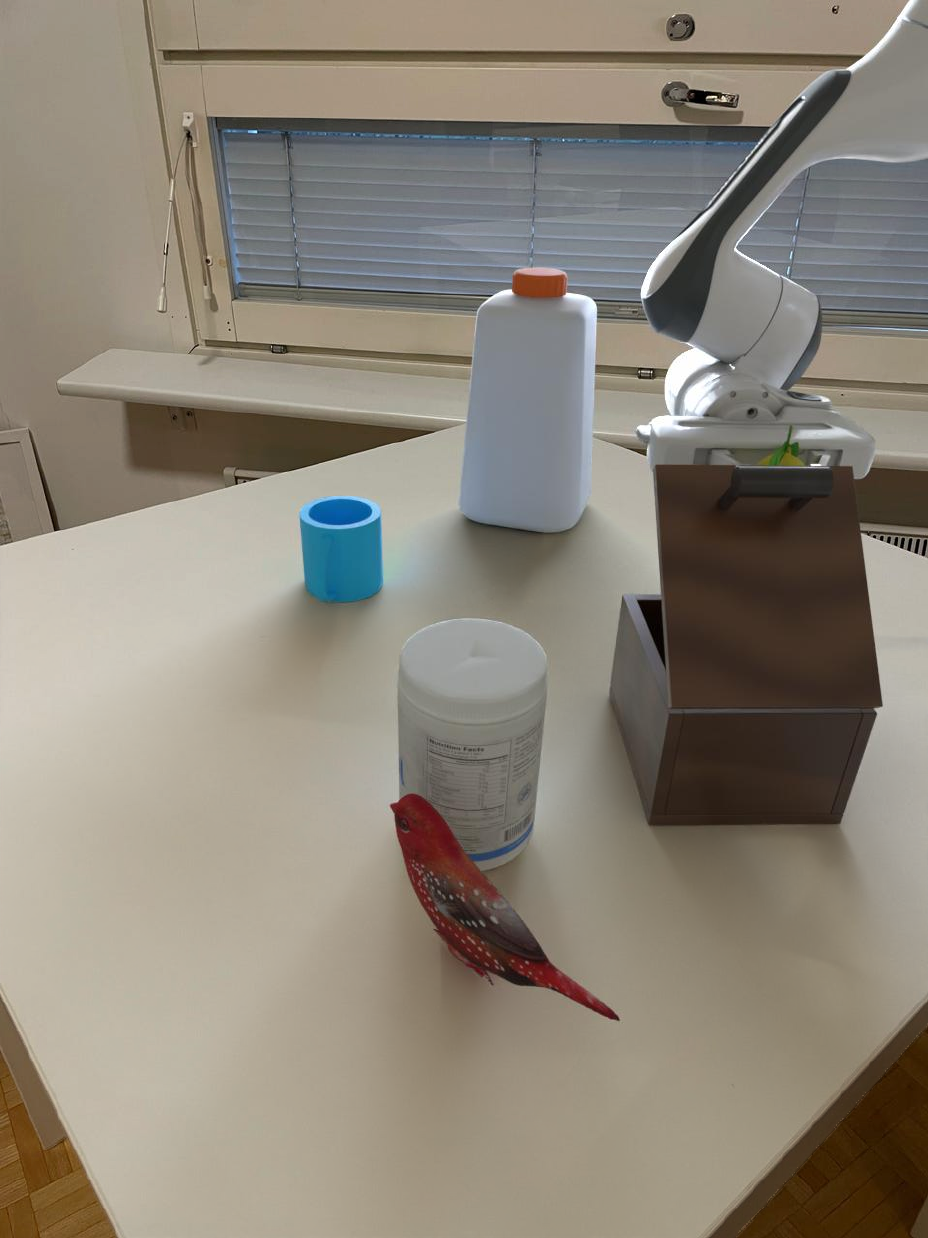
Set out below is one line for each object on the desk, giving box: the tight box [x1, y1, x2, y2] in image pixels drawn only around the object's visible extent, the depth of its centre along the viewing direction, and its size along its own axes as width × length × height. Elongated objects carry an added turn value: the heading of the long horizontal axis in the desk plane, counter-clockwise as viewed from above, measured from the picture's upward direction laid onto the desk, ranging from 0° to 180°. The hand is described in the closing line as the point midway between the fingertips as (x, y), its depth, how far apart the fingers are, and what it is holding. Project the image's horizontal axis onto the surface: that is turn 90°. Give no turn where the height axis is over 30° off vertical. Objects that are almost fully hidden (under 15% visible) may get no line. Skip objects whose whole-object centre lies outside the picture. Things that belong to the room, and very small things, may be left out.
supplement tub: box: [396, 617, 549, 872], centre depth 58 cm, size 10×10×15 cm
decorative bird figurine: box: [389, 793, 621, 1022], centre depth 48 cm, size 3×18×10 cm, turn 43°
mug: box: [298, 495, 384, 603], centre depth 88 cm, size 12×8×8 cm
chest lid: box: [652, 464, 884, 709], centre depth 57 cm, size 17×14×6 cm
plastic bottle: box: [458, 267, 598, 534], centre depth 102 cm, size 15×15×28 cm
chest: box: [608, 593, 878, 826], centre depth 67 cm, size 16×14×10 cm
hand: (785, 481), depth 74 cm, fingers closed on lemon, 5 cm apart
